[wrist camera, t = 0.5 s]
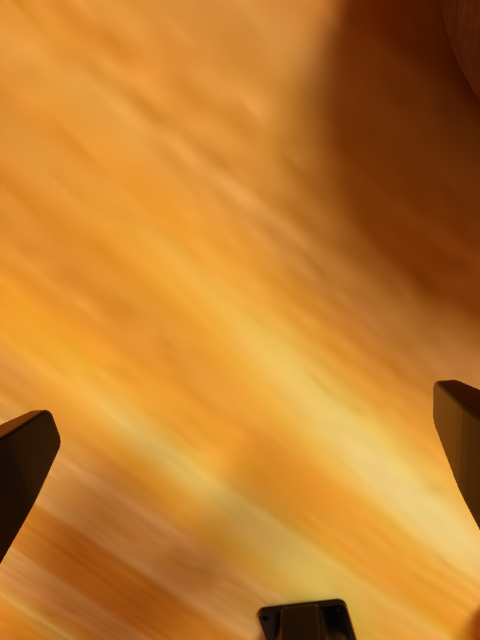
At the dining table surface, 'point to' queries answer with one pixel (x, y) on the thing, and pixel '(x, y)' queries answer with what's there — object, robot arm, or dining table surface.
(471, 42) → the wooden bowl
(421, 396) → the dining table surface
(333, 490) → the dining table surface
